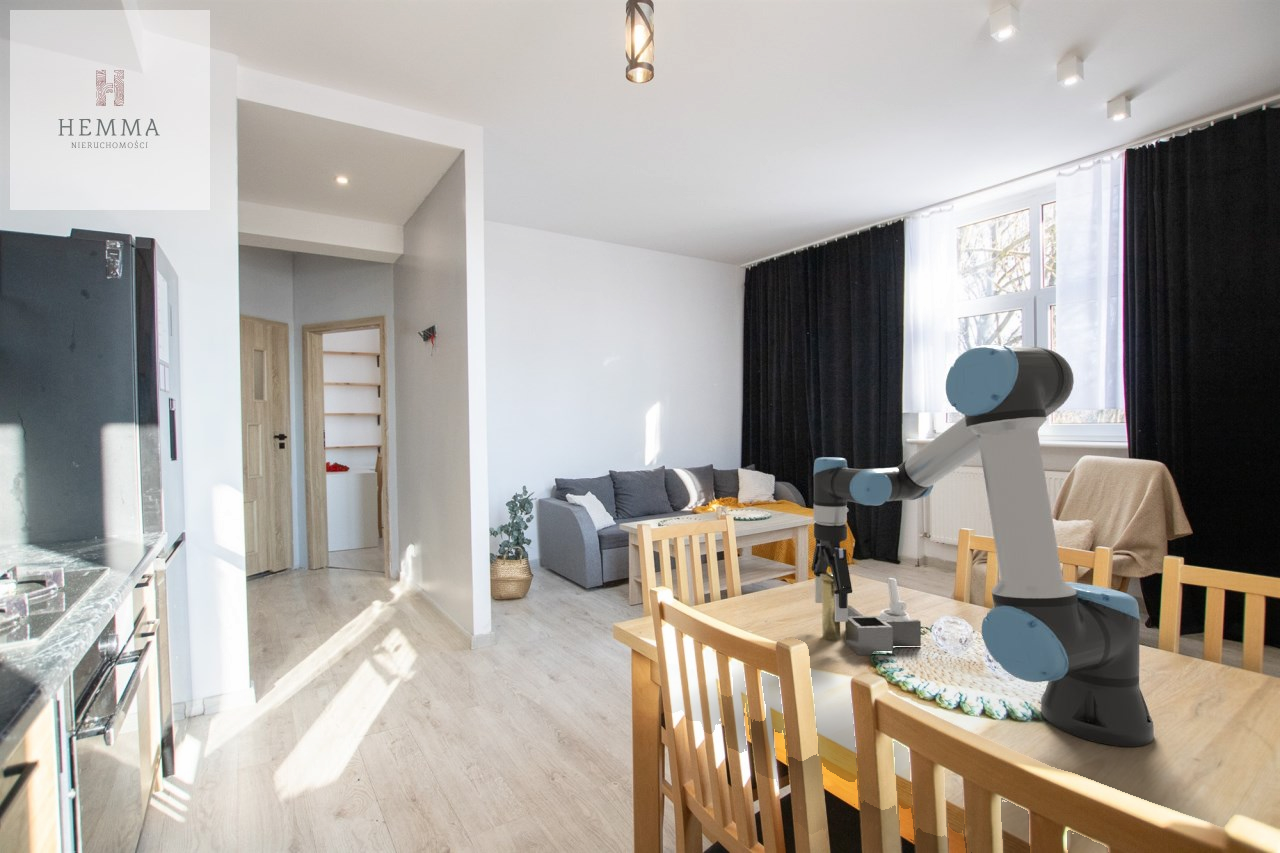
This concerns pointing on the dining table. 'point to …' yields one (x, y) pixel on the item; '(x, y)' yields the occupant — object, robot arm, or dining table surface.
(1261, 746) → the dining table surface
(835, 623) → the hinge pin
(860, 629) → the hinge base
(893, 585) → the hook
